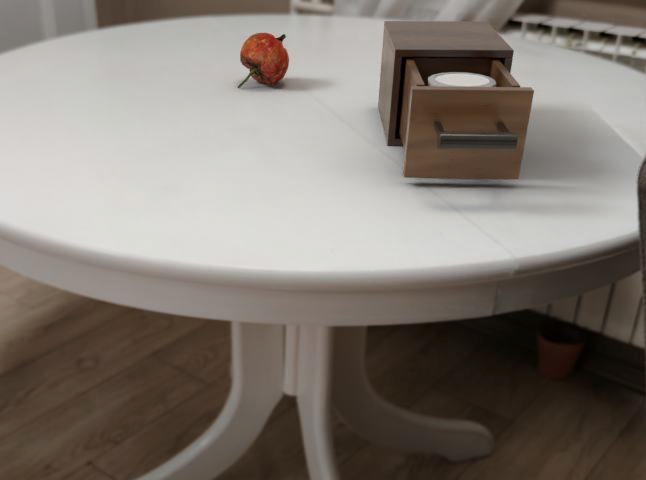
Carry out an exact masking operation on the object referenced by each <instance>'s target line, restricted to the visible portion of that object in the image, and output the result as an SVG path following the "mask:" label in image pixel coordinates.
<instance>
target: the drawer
mask: <svg viewBox="0 0 646 480" xmlns="http://www.w3.org/2000/svg"><path fill="white" fill-rule="evenodd" d="M447 72H466V73H474V74H480V75H484V76H488V77H490V78H492V79H494V80H495V81H496V86H495V87H445V86H428V77H430V76H432V75H434V74H439V73H447ZM534 94H535V90H534V89H533V88H532V87H526V86H525V87H524V86H521V85H520V83H519V82H518V81H517V80H516V79H515V77H514V76H513V75H512V74H511V73H509V71H508V70H507V69H506V68H505V67H504V65H503V64H502V63H501V62H500V60H499V59H498V58H475V57H405V61H404V72H403V83H402V94H401V105H400V116H399V128H398V131H399V134H400V138H401V141H402V145H403V146H402V147H403V151H404V157H403V168H402V175H403V178H405V179H407V178H408V179H467V180H469V179H470V180H471V179H472V180H474V179H475V180H519V178H520V174H521V167H522V163H523V162H522V161H523V156H524V150H525V145H526V139H527V134H528V133H527V132H528V128H529V122H530V117H531V112H532V104H533V101H534Z"/></svg>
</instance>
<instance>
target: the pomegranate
mask: <svg viewBox="0 0 646 480" xmlns="http://www.w3.org/2000/svg"><path fill="white" fill-rule="evenodd" d="M286 38H287V37H286V34H285V33H282V34H281V35H279V36H278V37H276V36H275V35H273V34H272V33H269V32H256V33H253V34H251V35H250V36H249V37H248V38H247V39H246V40H245V41H244V42H243V43H242V46H241V49H240V53H239V56H240V57H239V58H240V59H239V61H240V62H241V65H242V66H243V67H245V68H246V69H248V71H249V73H248V74H247V76H246V77H245V78H244V79H243V81H241V83H240V84H239V85H237V88H238V89H240V88H241V87H242V86H243V85H244V84H245V83H246V82H248V80H249V79H250V78H252V79H253V80H254V81H256V82H258V83H262V84H265V85H267V86H269V87H270V86H271V87H272V86H275V85H277V84H278V83H279V82H280V81H281V80H283V79H284V77H285V76H286V74H287V72H288V69H289V65H290V57H289V53H288V50H287V48H285V46H284V44H283V41H284V40H285V39H286Z"/></svg>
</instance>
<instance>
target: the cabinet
mask: <svg viewBox="0 0 646 480" xmlns="http://www.w3.org/2000/svg"><path fill="white" fill-rule="evenodd" d="M514 51H515V50H514V49H513V47H511V46H510V44H509V43H508V42H507V41H506V40H505V39H504V38H503V37H502V36H501V35H500V34H499V33H498V32H497V31H496V29H495V28H494V27H493V26H492V25H491V24H490V23H489V22H488V21H450V20H448V21H447V20H446V21H445V20H444V21H443V20H441V21H439V20H438V21H437V20H384V22H383V36H382V49H381V61H380V75H379V89H378V101H377V108H378V112H379V117H380V120H381V124H382V125H381V126H382V128H383V133H384V137H385V141H386V145H387V146H392V147H393V146H396V147H397V146H399V147H400V146H402V147H403V145H402V141H401V138H400V134H399V131H398V128H399V116H400V105H401V94H402V83H403V72H404V61H405V57H475V58H498V59H499V60H500V62H501V63H502V64H503V65H504V67H505V68H506V69H507V70H508V71H509V73H510V74H511V72H512V65H513V59H514Z"/></svg>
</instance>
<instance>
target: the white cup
mask: <svg viewBox="0 0 646 480" xmlns="http://www.w3.org/2000/svg"><path fill="white" fill-rule="evenodd" d="M428 86H445V87H495V86H496V81H495V80H494V79H492V78H490V77H488V76H484V75H480V74H474V73H466V72H447V73H439V74H434V75H432V76H430V77H428Z"/></svg>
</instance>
